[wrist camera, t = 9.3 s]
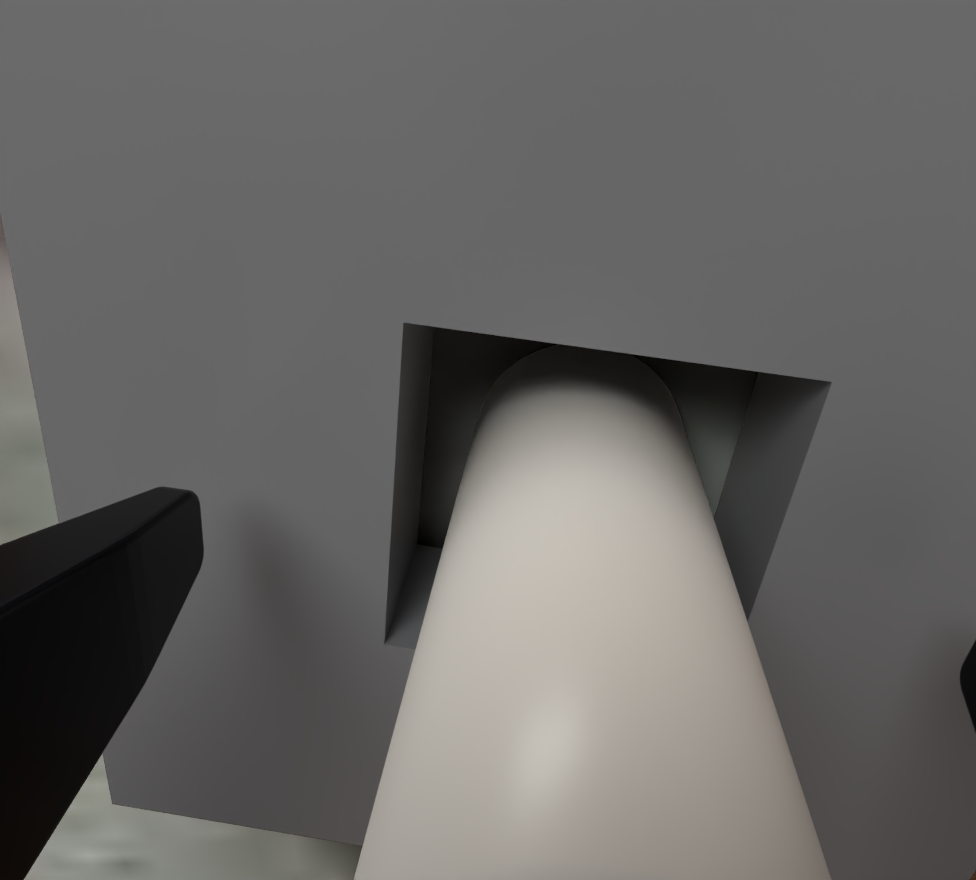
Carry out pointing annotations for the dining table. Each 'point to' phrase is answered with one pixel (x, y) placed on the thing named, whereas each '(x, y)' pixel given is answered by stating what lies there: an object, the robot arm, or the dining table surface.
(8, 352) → the dining table surface
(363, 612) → the hole plate
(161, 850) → the dining table surface
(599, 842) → the long pin
